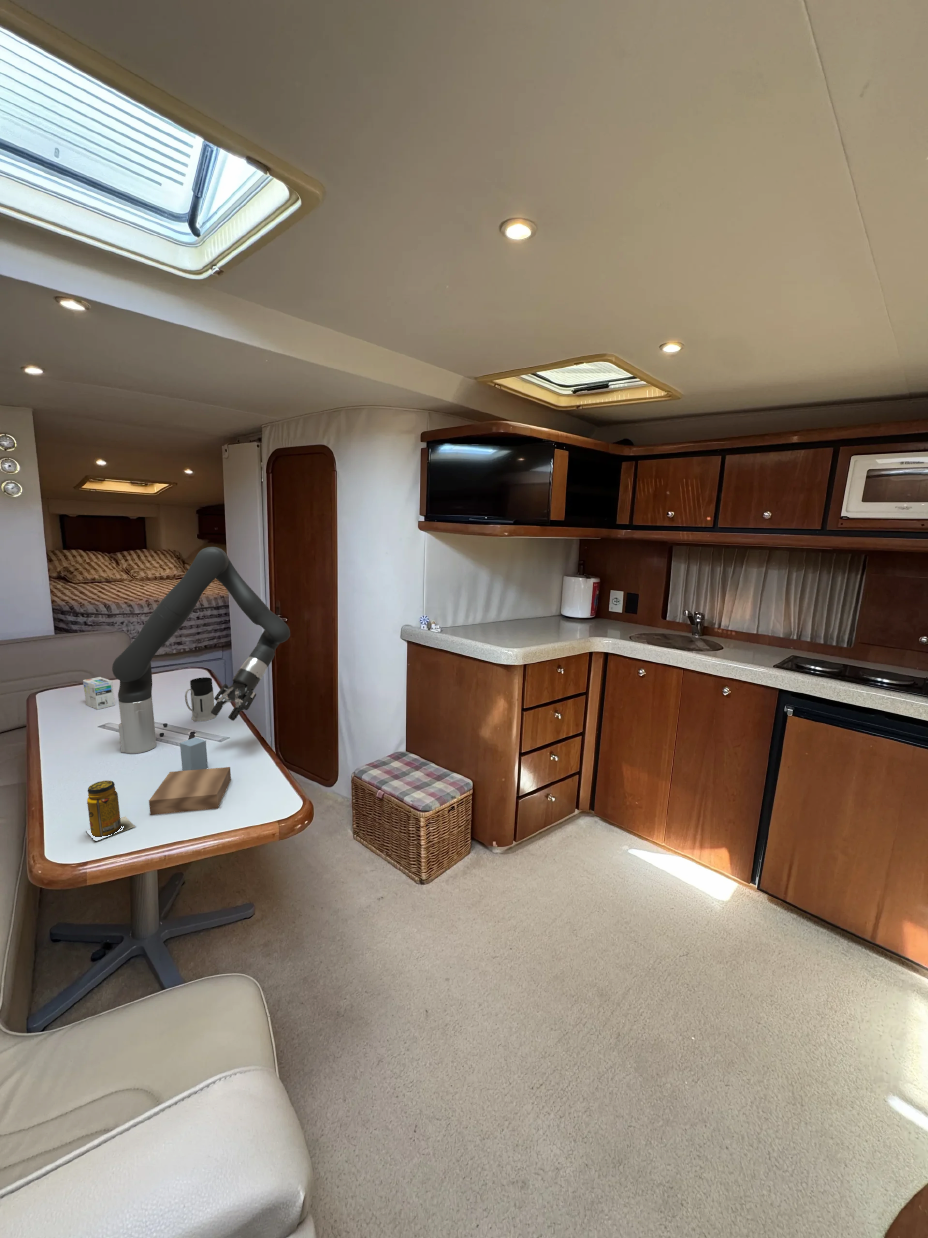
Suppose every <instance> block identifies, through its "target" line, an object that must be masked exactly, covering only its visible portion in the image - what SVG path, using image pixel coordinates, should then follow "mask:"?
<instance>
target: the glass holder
mask: <svg viewBox="0 0 928 1238" xmlns="http://www.w3.org/2000/svg"><path fill="white" fill-rule="evenodd" d="M189 686H190V688H188V689H186V691H185V693H184V701H185V704H186V705H185V706H186V707H187V709H188V710H189V711H191V714H192V715H191V721H192V720H193V722H207V721H211V720H214V719H215V718H216V717H217V716H215V715H213V714H212V713H211V711H212V709H213V708H214V706H215V699H214V698H215V695H214V687H213V679H212V677H207V676H206V677H204V676H203V677H197V678H192V679H190V681H189ZM189 692H190V704H191V706H190V705H189V703H188V693H189Z"/></svg>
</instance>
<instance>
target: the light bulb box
mask: <svg viewBox="0 0 928 1238" xmlns="http://www.w3.org/2000/svg"><path fill="white" fill-rule="evenodd" d="M82 684H83V689H84V699H85V706H88V707H91V708H93V709H95V710H101V709H106V708H109V707H114V706H116V702H115V694H114V688H113V687H114V685H113V680H111V679H108V678H105V677H103V676H102V677H101V676H98V677H93V678H87V679H83V680H82Z"/></svg>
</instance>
